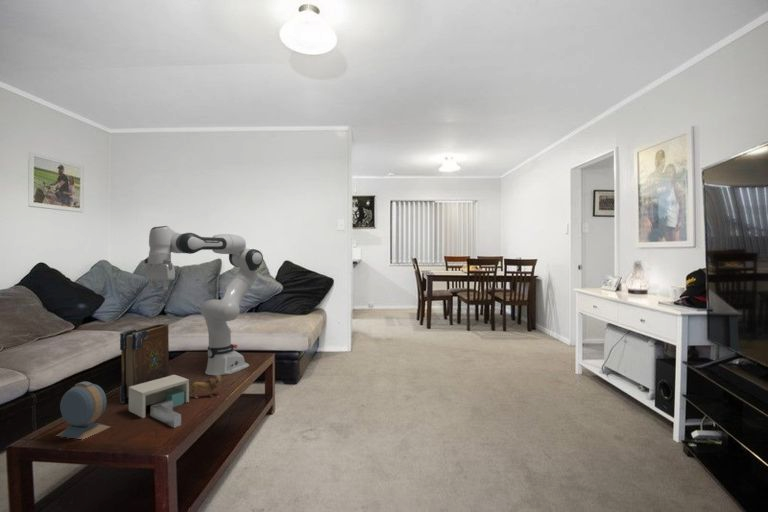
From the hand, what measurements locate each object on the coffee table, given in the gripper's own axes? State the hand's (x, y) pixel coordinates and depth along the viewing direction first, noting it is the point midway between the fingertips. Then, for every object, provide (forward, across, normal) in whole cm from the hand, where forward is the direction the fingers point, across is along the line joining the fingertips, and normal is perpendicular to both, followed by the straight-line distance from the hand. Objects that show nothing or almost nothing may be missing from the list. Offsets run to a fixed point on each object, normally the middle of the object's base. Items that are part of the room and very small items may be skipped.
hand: (159, 289), depth 168 cm
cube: (+47, -23, +5) cm, 53 cm away
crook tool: (+47, -35, +13) cm, 61 cm away
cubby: (+47, -20, +10) cm, 52 cm away
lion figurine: (+48, -26, -7) cm, 55 cm away
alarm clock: (+48, -19, +35) cm, 62 cm away
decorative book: (+48, +1, +5) cm, 48 cm away
